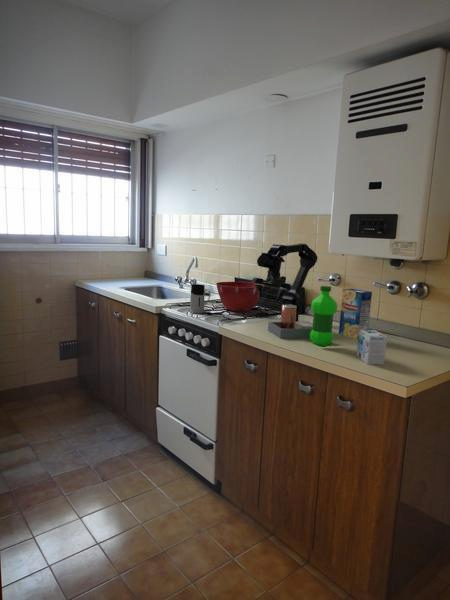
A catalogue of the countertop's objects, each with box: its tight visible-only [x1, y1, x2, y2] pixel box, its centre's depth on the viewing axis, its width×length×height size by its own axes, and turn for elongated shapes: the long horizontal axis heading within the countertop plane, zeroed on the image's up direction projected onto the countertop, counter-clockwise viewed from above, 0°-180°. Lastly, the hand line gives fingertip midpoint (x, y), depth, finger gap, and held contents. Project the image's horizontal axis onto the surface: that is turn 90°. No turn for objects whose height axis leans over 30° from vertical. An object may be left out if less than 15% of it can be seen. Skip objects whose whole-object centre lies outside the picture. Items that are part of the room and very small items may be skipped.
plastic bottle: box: [309, 285, 338, 348], centre depth 176 cm, size 10×10×25 cm
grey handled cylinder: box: [189, 283, 211, 314], centre depth 236 cm, size 9×14×15 cm, turn 46°
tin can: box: [280, 303, 296, 329], centre depth 190 cm, size 6×6×13 cm
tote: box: [267, 321, 313, 340], centre depth 192 cm, size 20×15×5 cm
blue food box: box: [338, 288, 373, 341], centre depth 193 cm, size 7×11×22 cm, turn 34°
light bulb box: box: [356, 329, 388, 366], centre depth 159 cm, size 11×7×11 cm, turn 5°
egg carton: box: [295, 321, 313, 329], centre depth 193 cm, size 6×9×5 cm
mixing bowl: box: [215, 281, 265, 312], centre depth 250 cm, size 28×28×15 cm
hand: (268, 300), depth 210 cm, fingers open, 9 cm apart
